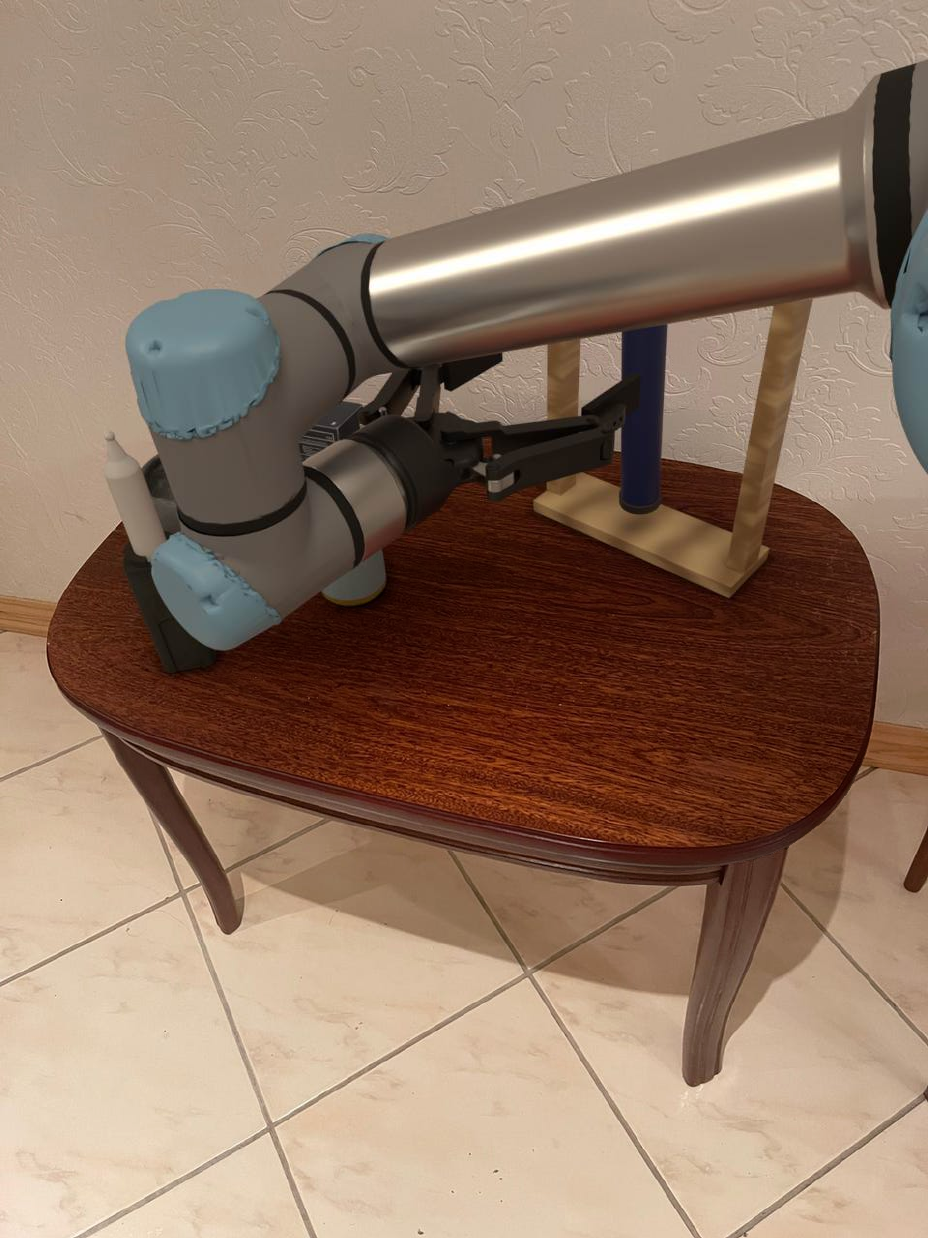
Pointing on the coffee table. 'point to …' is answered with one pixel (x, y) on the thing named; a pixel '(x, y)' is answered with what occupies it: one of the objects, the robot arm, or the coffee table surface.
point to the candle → (148, 562)
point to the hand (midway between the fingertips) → (564, 366)
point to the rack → (667, 531)
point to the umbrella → (643, 420)
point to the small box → (330, 429)
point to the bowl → (161, 494)
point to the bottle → (359, 583)
